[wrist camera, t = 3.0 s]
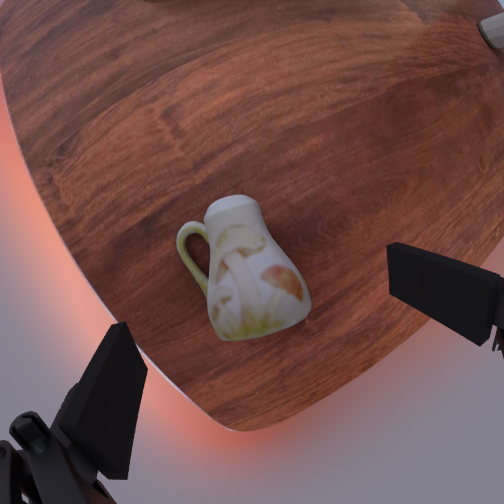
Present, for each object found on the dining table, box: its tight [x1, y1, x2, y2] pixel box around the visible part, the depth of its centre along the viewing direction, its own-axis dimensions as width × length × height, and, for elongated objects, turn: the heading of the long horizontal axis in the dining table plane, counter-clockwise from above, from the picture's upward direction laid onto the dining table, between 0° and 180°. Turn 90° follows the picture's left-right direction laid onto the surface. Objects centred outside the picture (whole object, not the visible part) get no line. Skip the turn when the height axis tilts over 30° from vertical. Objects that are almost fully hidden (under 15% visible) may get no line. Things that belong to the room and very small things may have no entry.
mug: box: [176, 195, 311, 341], centre depth 19 cm, size 8×10×10 cm
